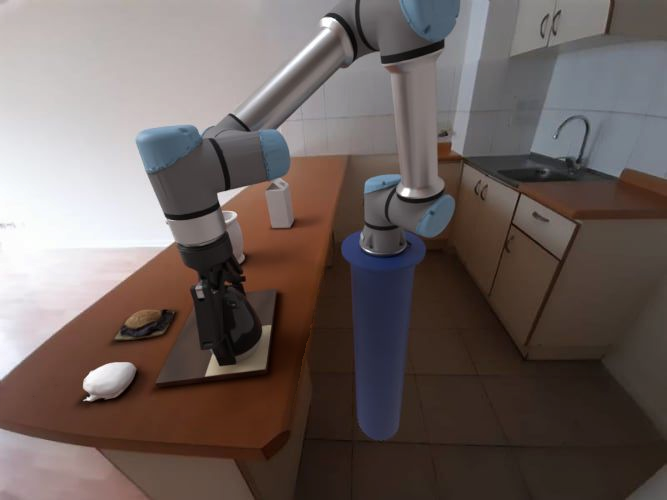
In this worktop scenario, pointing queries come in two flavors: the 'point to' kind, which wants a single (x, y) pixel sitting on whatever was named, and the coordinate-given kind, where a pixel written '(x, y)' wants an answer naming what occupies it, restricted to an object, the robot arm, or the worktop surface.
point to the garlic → (109, 380)
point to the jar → (234, 234)
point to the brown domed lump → (145, 324)
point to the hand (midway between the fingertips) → (236, 333)
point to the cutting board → (202, 365)
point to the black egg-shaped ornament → (240, 323)
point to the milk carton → (279, 204)
